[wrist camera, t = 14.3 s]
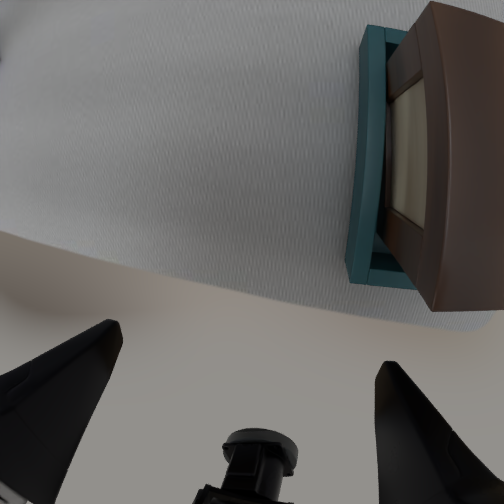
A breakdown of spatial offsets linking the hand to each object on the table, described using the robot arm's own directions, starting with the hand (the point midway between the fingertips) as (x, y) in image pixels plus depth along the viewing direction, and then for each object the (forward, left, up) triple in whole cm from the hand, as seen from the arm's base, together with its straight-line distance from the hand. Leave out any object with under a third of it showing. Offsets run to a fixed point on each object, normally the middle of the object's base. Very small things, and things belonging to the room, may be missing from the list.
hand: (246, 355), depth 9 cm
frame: (+4, -9, -12) cm, 15 cm away
